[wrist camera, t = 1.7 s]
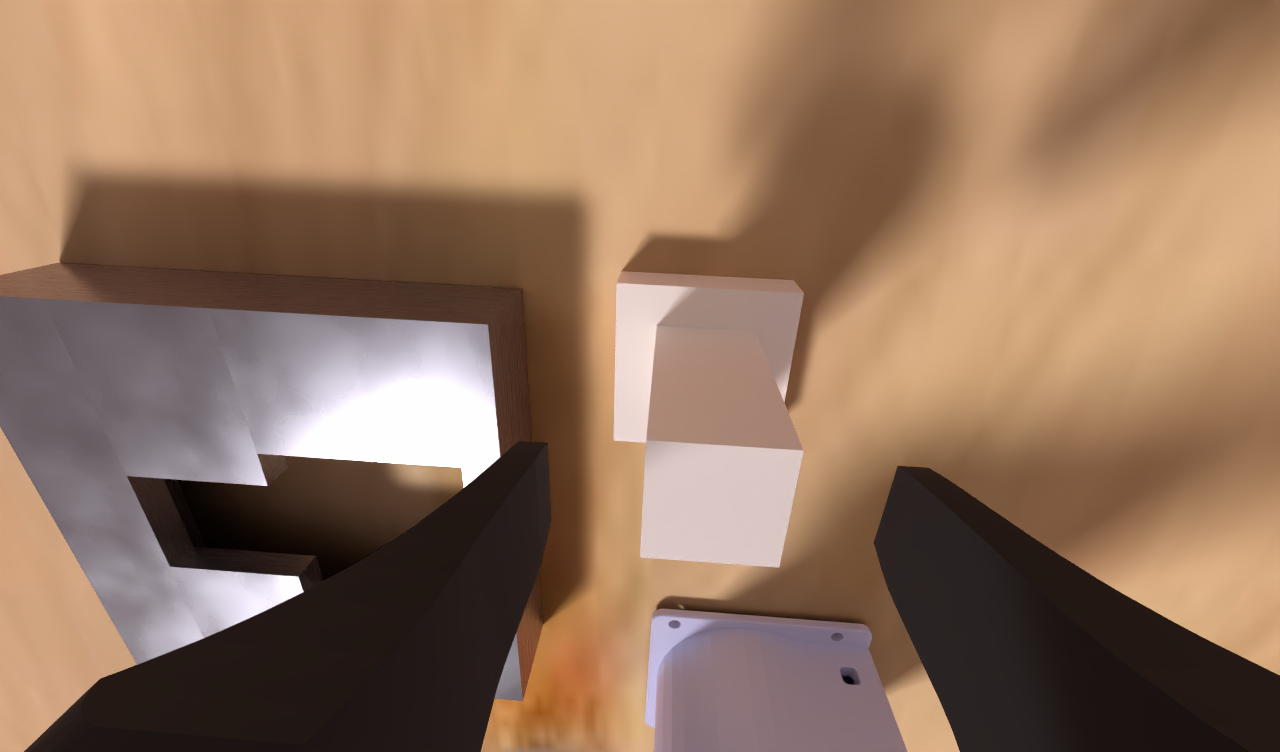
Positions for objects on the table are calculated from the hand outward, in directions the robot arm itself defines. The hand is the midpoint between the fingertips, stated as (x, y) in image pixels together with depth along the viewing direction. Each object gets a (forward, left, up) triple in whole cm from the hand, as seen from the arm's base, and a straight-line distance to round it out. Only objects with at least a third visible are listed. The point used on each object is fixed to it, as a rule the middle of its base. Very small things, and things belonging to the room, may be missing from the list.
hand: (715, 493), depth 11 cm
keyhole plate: (+14, +6, -8) cm, 17 cm away
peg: (0, 0, -8) cm, 8 cm away
